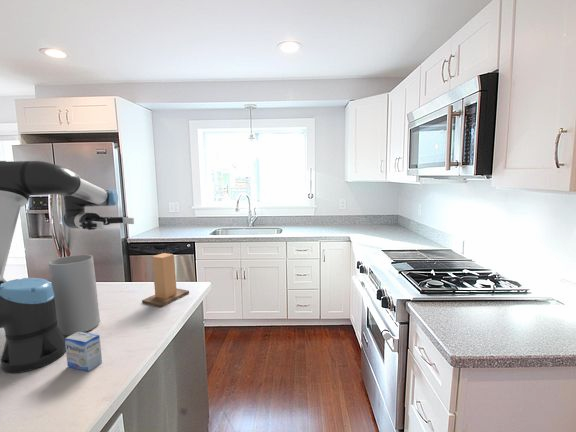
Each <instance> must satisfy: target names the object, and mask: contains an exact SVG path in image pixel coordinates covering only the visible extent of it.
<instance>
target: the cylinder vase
mask: <svg viewBox="0 0 576 432" xmlns="http://www.w3.org/2000/svg"><path fill="white" fill-rule="evenodd" d="M94 261H95V260H94V256H93V255H91V254H76V255H68V256H63V257H58V258H55V259H52V260H50V261H49V262H48V268H49V269H48V270H49V276H50V283H51V284H52V288H53V292H54V295H55V296H54V300H55V308H56V317H57V325H58V327H59V329H60V330H61V332H62V334H63V335H64V337H66V336H67V337H69V336H71V335H72V334H75V333H77V332H84V333H88V332H89V331H91V330H93V329H94V328H96V327H98V325H99V324H100V321H101V319H100V310H99V301H98V300H99V299H98V289H97V281H96V273H95V271H96V270H95V265H94V263H95V262H94Z"/></svg>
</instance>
